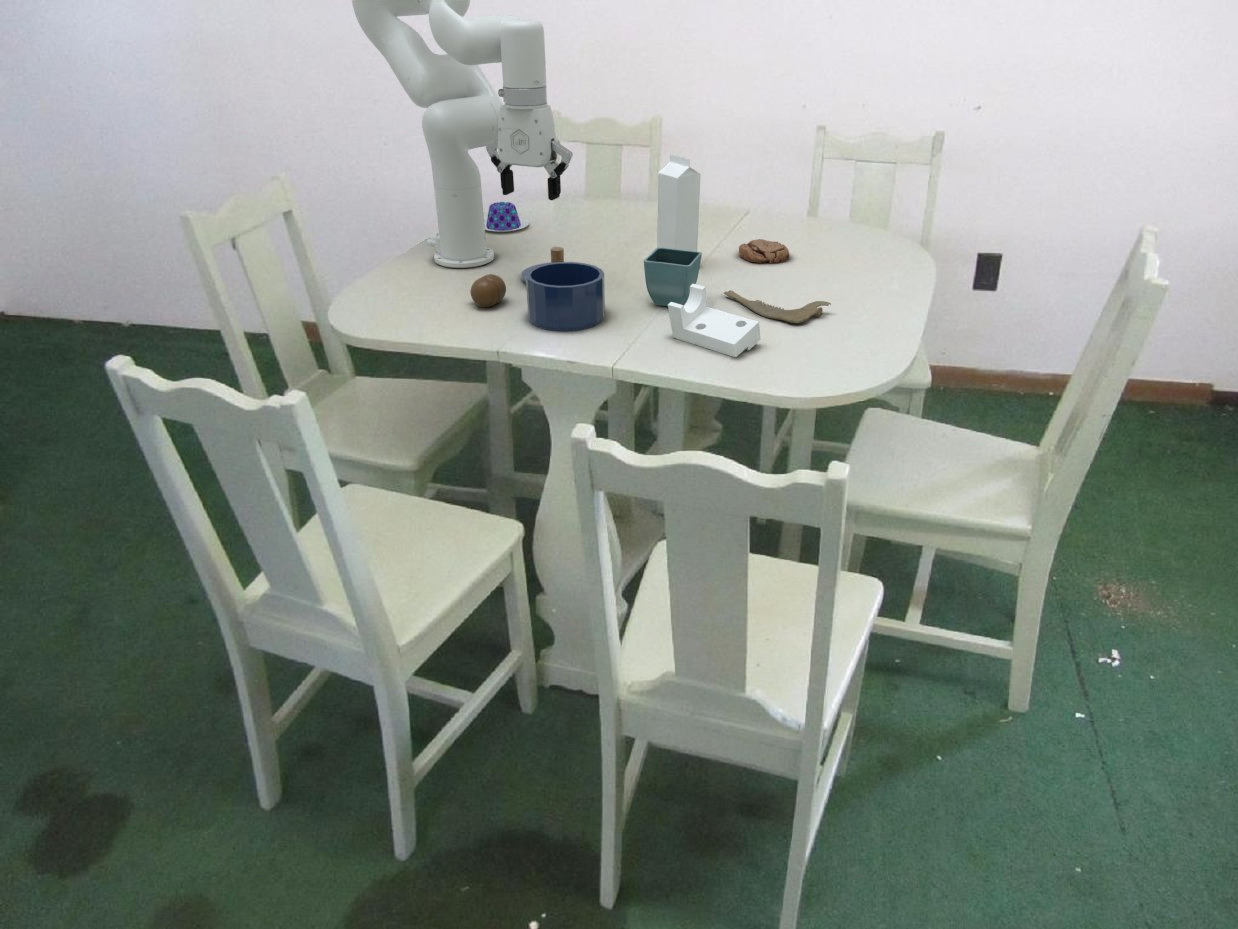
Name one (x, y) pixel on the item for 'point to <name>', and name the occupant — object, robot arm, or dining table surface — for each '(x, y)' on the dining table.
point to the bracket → (711, 325)
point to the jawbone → (778, 313)
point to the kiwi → (488, 290)
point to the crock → (565, 296)
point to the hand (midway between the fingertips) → (531, 195)
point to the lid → (556, 256)
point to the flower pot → (671, 274)
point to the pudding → (503, 218)
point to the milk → (678, 205)
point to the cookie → (764, 251)
